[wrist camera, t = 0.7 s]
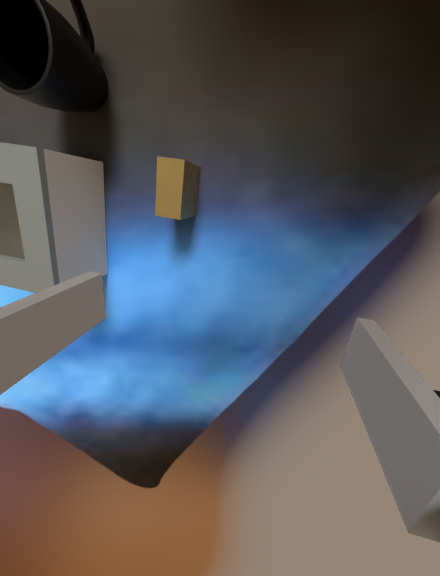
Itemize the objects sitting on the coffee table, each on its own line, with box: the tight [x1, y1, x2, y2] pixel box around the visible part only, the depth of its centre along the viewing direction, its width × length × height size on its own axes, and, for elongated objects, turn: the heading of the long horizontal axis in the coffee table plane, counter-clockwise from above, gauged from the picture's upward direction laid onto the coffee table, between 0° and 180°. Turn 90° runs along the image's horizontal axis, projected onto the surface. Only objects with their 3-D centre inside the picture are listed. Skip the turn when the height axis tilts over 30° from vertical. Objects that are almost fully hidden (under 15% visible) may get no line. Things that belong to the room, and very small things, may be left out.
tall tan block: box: [155, 156, 200, 220], centre depth 29 cm, size 6×3×6 cm, turn 172°
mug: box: [0, 0, 108, 112], centre depth 24 cm, size 8×12×10 cm
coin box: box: [0, 142, 107, 293], centre depth 31 cm, size 16×12×10 cm
